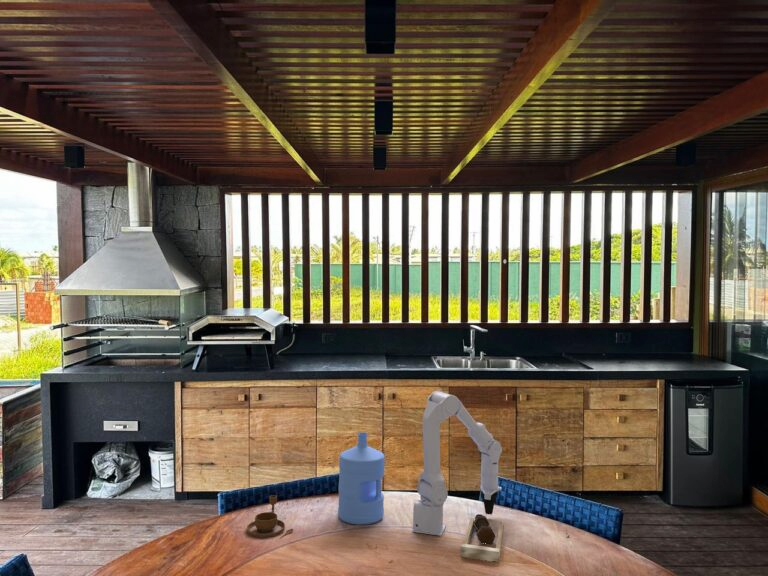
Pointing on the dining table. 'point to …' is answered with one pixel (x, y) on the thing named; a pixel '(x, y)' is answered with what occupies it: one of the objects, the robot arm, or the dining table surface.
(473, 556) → the guide channel
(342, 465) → the water jug
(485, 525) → the bolt
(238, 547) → the dining table surface
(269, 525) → the place setting
